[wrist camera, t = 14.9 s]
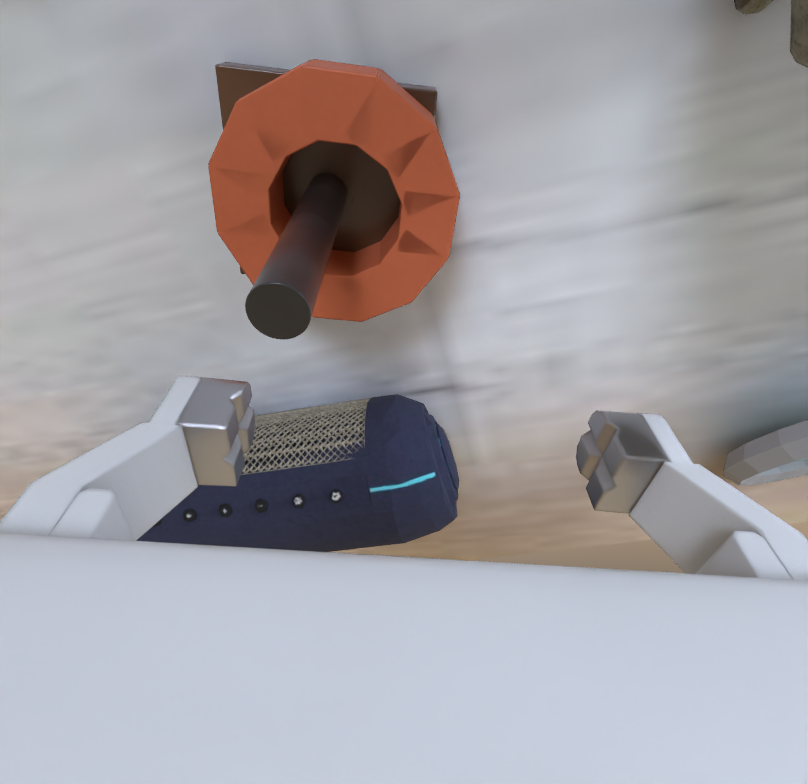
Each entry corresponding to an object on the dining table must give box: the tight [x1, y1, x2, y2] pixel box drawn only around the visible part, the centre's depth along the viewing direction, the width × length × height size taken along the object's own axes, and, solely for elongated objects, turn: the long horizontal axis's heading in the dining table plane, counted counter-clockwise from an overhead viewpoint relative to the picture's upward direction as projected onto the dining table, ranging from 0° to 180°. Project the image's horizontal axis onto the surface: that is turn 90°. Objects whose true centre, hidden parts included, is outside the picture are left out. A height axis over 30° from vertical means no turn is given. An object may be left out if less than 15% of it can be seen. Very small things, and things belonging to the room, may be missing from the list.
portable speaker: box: [136, 395, 459, 552], centre depth 33 cm, size 25×10×10 cm, turn 101°
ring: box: [209, 59, 460, 322], centre depth 23 cm, size 11×11×3 cm
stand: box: [215, 62, 437, 339], centre depth 20 cm, size 10×10×14 cm
